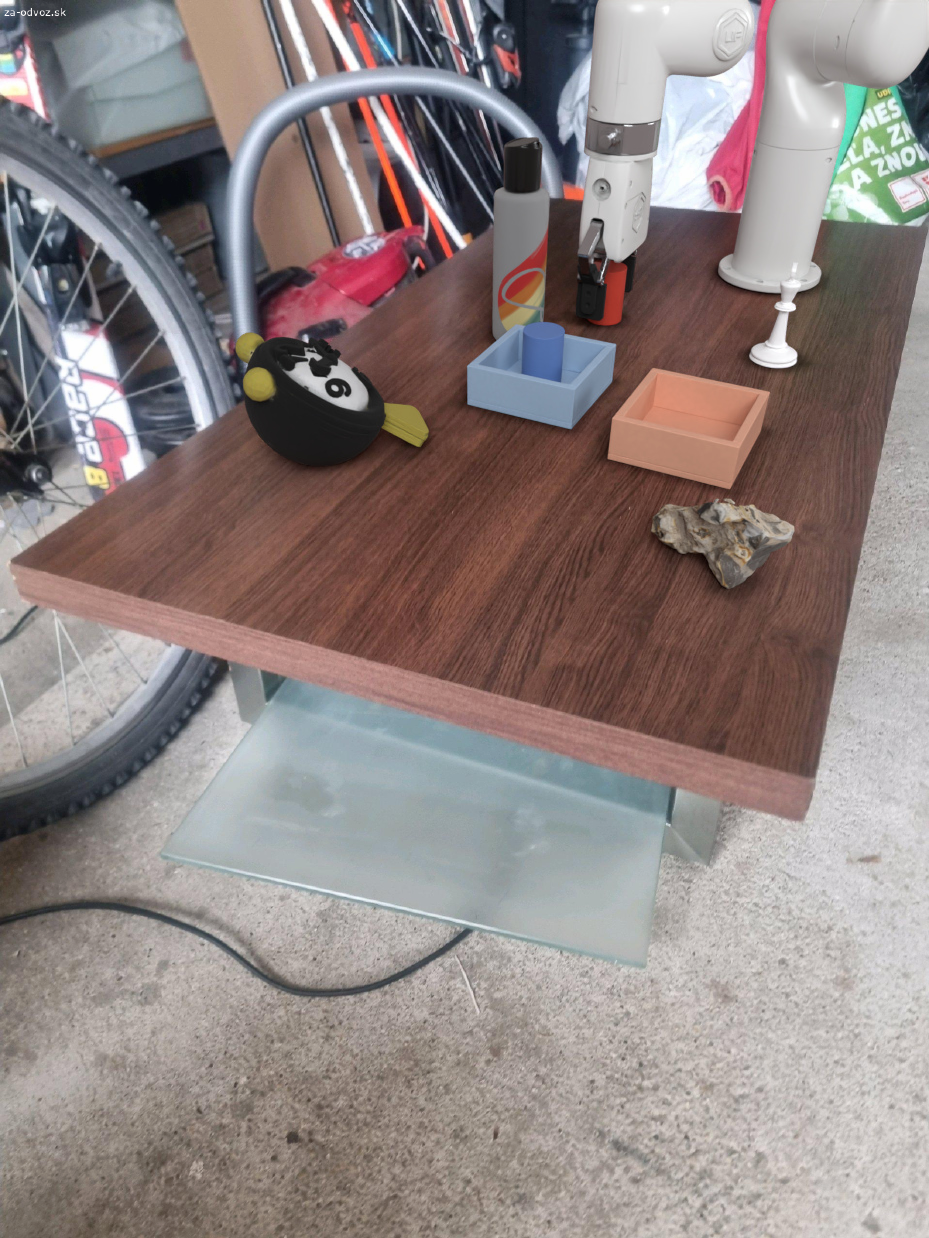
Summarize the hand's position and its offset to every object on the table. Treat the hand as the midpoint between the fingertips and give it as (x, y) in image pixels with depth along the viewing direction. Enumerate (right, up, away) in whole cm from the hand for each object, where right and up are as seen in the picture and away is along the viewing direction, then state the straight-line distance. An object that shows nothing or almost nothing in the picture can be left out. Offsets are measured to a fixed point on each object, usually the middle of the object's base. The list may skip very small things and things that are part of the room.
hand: (604, 303), depth 100 cm
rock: (+3, -32, -33) cm, 47 cm away
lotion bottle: (-10, -5, -2) cm, 11 cm away
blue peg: (-9, -13, -13) cm, 21 cm away
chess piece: (+17, -9, -7) cm, 20 cm away
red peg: (0, -1, +1) cm, 2 cm away
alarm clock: (-28, -22, -21) cm, 41 cm away
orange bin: (+4, -21, -21) cm, 29 cm away
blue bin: (-8, -14, -13) cm, 20 cm away
